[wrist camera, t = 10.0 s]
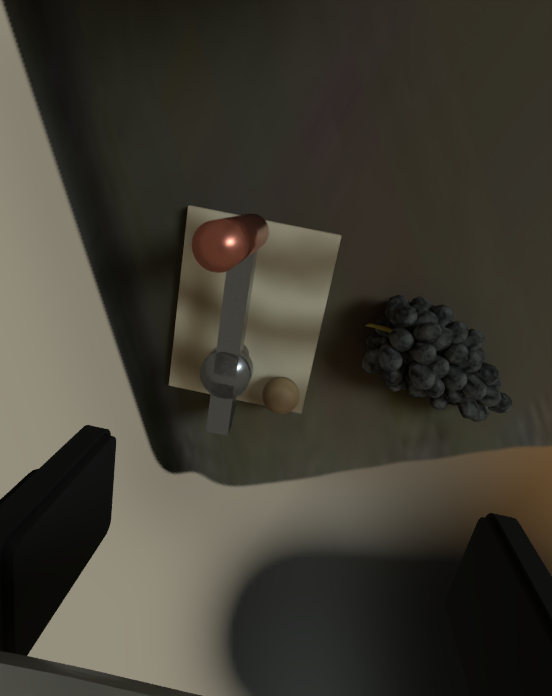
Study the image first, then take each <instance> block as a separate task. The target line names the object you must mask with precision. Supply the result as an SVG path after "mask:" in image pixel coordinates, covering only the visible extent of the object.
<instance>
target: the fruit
mask: <svg viewBox="0 0 552 696" xmlns="http://www.w3.org/2000/svg"><path fill="white" fill-rule="evenodd" d="M452 319H453V312H452V310H451V309H450V308H449V307H447V306H445V305H439V306H434V305H432V306H431V304H430V301H428V300H427V299H426V298H423V297H417V298H415V299H413V300H412V301H411V302H409V301H407V299H406V298H405V297H404V296H400V295H397V296H394V297H391V298H390V299H389V301H388V303H387V305H386V307H385V316H384V317H381V318H379V319H378V320H377V321H376V324H370V323H369V324H367V325H365V326H368V327H372V328H375V329H376V332H377V333H378V334H373V335H370V336H369V337H368V338H367V339H366V342H365V347H366V350H367V352H366V354H365V356H364V357H363V363H362V367H363V368H364V370H365V371H366V372H368V373H369V374H376V373H380V375H381V377H382V379H383V380H384V381H385V385H386V388H387V389H389V390H392V391H394V392H396V391H400V390H406V392H407V394H408V395H409V396H413V397H417V396H418V397H426V396H428V397H431V399H430V403H431V405H432V406H433V407H434V408H435V409H438V410H439V409H444V408H445V407H446V406H447V405H448V403H449V404H451V405H458V408H459V411H460V413H461V415H462V416H463V417H464V418H469V419H471V420H473V421H477V422H479V421H483V420H486V418H487V417H488V415H489V410H488V409H490V410H491V411H494V412H497V413H506V412H508V411H509V410H510V409H511V406H512V401H511V398H510V397H509V396H507V395H506V394H505V393H501V392H500V391H499V390H498V389H499V388H500V385H501V382H500V379H499V377H498V370H497V369H496V367H495V366H492V365H489V364H487V363H484V361H485V358H486V353H485V352H484V350H483V349H482V348H481V346H483V345H484V336H483V334H482V333H481V332H479V331H477V330H474V329H470V330H468V328H467V327H466V325H465V324H464V323H462V322H460V321H455V322H451V321H452ZM450 322H451V323H450ZM386 338H387V339H386ZM440 352H441V353H440ZM438 353H440V356H439V355H437V354H438Z"/></svg>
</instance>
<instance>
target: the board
mask: <svg viewBox="0 0 552 696" xmlns="http://www.w3.org/2000/svg"><path fill="white" fill-rule="evenodd" d="M234 216H239V215H238V214H233V213H228V212H222V211H217V210H212V209H207V208H202V207H197V206H188V212H187V221H186V231H185V240H184V249H183V258H182V268H181V277H180V286H179V295H178V305H177V314H176V323H175V332H174V342H173V351H172V360H171V369H170V378H169V386H174V387H179V388H183V389H188V390H193V391H197V392H202V393H207V394H210V393H209V392H208V391H207V390H206V389H205V388H204V386H203V384H202V382H201V379H200V368H201V365H202V363H203V361H204V360H205V359H206V357H207V356H208V355H209V353H210V352H211V351H212V350H213V349H214V348H216V347H217V341H218V333H219V325H220V317H221V309H222V301H223V293H224V286H225V278H226V272H221V273H216V272H211V271H208V270H206V269H204V268H203V267H202V266H201V265H200V264H199V263H198V262H197V261H196V259H195V257H194V255H193V251H192V238H193V235H194V233H195V231H196V230H197V228H198V227H199V226H200V225H202V224H203V223H205V222H207V221H210V220H216V219H222V218H228V217H234ZM265 221H266V223H267V225H268V227H269V237H268V240H267V241H266V243H265V244H264V245H263V246H262V247H260V248H259V249H258V252H257V259H256V266H255V272H254V279H253V286H252V292H251V299H250V306H249V313H248V319H247V326H246V333H245V340H244V346H243V350H244V351H245V352H246V353H247V354H248V355H249V357H250V358H251V360H252V363H253V374H252V377H251V379H250V382H249V384H248V387H247V388H246V390H245V391H244V392H243V393H242V394H241V395H239V396H237V397H236V398H237V400H240V401H244V402H249V403H254V404H258V405H263V406H265V404H264V402H263V397H262V394H263V389H264V387H265V385H266V384H267V383H268V382H269V381H270V380H271V379H273V378H276V377H286V378H289V379H291V380H292V381H293V382H294V383H295V384H296V385H297V387H298V389H299V401H298V404H297V406H296V407H295V408H294V409H293V410H292V411H291V412H296V413H301V412H302V408H303V404H304V399H305V395H306V390H307V386H308V382H309V377H310V373H311V368H312V364H313V359H314V355H315V351H316V346H317V342H318V337H319V333H320V329H321V324H322V320H323V315H324V311H325V306H326V302H327V298H328V293H329V289H330V284H331V280H332V276H333V271H334V267H335V262H336V258H337V253H338V249H339V245H340V240H341V235H340V234H335V233H330V232H324V231H319V230H314V229H309V228H304V227H299V226H294V225H289V224H284V223H279V222H273V221H268V220H265Z"/></svg>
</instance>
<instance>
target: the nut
mask: <svg viewBox="0 0 552 696" xmlns="http://www.w3.org/2000/svg"><path fill="white" fill-rule="evenodd" d="M262 397H263V402H264V404H265V406H266V407H267V408H268V409H269V410H270V411H272V412H274V413H277V414H285V413H288V412H290V411H292V410H293V409H294V408H295V407H296V406H297V404H298V401H299V389H298V387H297V385H296V384H295V383H294V382H293V381H292V380H291V379H289V378H286V377H276V378H273V379H271V380H270V381H269V382H268V383H267V384H266V385H265V387H264V389H263V394H262Z"/></svg>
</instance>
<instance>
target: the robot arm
mask: <svg viewBox="0 0 552 696" xmlns="http://www.w3.org/2000/svg"><path fill="white" fill-rule="evenodd" d="M115 451H116V438H115V437H113V436H111V433H110V431H109V430H108V429H104V428H99V427H94V426H90V425H86V426H84V427H83V428H82V429H81V430H80V431H79V432H78V433H77V434H75V435H74V436H73V437H72V438H71V439H70V440H69V441H68V442H67V443H66V444H65V445H64V446H63V447H62V448H61V449H60V450H58V451H57V452H56V453H55V455H53V456H52V457H51V458H50V459H49V460H48V461H47V462H46V463H45V464H44V465H43V466H42V467H40V468H39V469H36V470H33V471H32V472H30V473H29V474H28V475H27V476H25V477H24V478H23V479H22V480H21V481H20V482H19V483H18V484H17V485H16V486H15V487H14V488H13V489H12V490H11V491H9V492H8V493H7V494H6V495H5V496H4V497H3V498H2V499H1V500H0V696H201V695H197V694H192V693H188V692H183V691H179V690H175V689H171V688H167V687H162V686H158V685H154V684H150V683H145V682H141V681H137V680H132V679H128V678H124V677H120V676H115V675H111V674H107V673H103V672H98V671H94V670H89V669H85V668H80V667H76V666H70V665H66V664H61V663H57V662H51V661H47V660H43V659H38V658H33V657H29V656H27V655H28V653H29V652H30V650H31V649H32V647H33V646H34V644H35V643H36V641H37V639H38V638H39V637H40V635H41V633H42V632H43V630H44V629H45V627H46V626H47V624H48V623H49V621H50V620H51V618H52V616H53V615H54V613H55V612H56V611H57V609H58V607H59V606H60V604H61V603H62V601H63V599H64V598H65V597H66V595H67V593H68V592H69V591H70V589H71V587H72V586H73V584H74V583H75V581H76V580H77V578H78V577H79V575H80V574H81V572H82V571H83V569H84V567H85V566H86V564H87V563H88V561H89V560H90V558H91V557H92V555H93V554H94V552H95V551H96V549H97V548H98V546H99V545H100V543H101V541H102V540H103V538H104V537H105V535H106V534H107V531H108V529H109V526H110V522H111V511H112V496H113V481H114V466H115ZM445 608H446V614H447V618H448V621H449V624H450V627H451V631H452V635H453V638H454V641H455V645H456V648H457V651H458V655H459V658H460V661H461V665H462V668H463V671H464V675H465V678H466V682H467V685H468V688H469V692H470V695H471V696H552V577H551V576H550V573H549V572H548V570H547V569H546V567H545V565H544V563H543V562H542V560H541V558H540V557H539V555H538V554H537V552H536V550H535V549H534V547H533V545H532V544H531V542H530V540H529V539H528V537H527V535H526V534H525V532H524V530H523V529H522V527H521V525H520V524H519V522H518V521H517V520H516V519H515V518H512V517H507V516H502V515H498V514H493V513H489V514H488V515H487V516H486V518H484V517H482V518H480V519H479V520H478V522H477V525H476V527H475V529H474V532H473V534H472V536H471V539H470V541H469V544H468V546H467V548H466V551H465V553H464V555H463V558H462V560H461V563H460V565H459V568H458V570H457V572H456V575H455V577H454V579H453V582H452V584H451V586H450V589H449V591H448V594H447V596H446V601H445Z"/></svg>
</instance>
